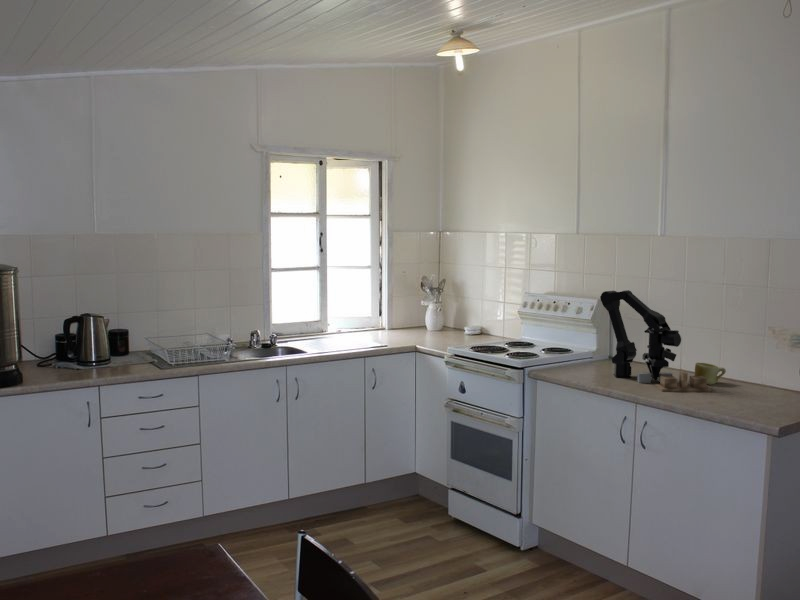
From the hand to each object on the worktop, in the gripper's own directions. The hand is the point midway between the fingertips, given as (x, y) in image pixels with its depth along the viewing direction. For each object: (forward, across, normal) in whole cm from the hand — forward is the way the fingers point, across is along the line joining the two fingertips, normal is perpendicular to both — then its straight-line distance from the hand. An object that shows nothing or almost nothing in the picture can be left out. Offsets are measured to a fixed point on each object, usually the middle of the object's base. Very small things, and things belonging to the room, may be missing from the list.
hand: (654, 379), depth 327 cm
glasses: (+1, 0, 0) cm, 1 cm away
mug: (+2, -1, -23) cm, 23 cm away
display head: (+1, -13, -8) cm, 15 cm away
